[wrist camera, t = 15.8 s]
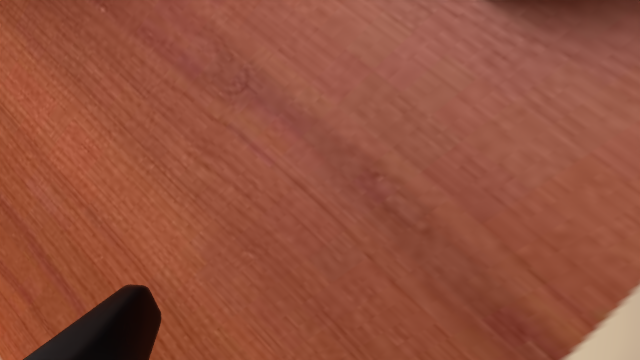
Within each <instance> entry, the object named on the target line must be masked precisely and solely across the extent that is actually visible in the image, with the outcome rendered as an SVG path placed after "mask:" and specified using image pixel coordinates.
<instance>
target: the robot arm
mask: <svg viewBox="0 0 640 360" xmlns="http://www.w3.org/2000/svg"><path fill="white" fill-rule="evenodd" d="M160 323H161V312H160V310H159V308H158V306H157V304H156V302H155V300H154V298H153V296H152V294H151V292H150V290H149V288H147V287H146V286H143V285H126V286H124V287H122V288H121V289H119V290H118V291H117V292H115V293H114V294H113V295H111V296H110V297H108V298H107V299H106V300H104V301H103V302H102V303H100V304H99V305H97V306H96V307H95V308H93V309H92V310H91V311H89V312H88V313H86V314H85V315H84V316H82V317H81V318H80V319H78V320H77V321H75V322H74V323H73V324H71V325H70V326H69V327H67V328H66V329H64V330H63V331H62V332H60V333H59V334H58V335H56V336H55V337H53V338H52V339H51V340H49V341H48V342H47V343H45V344H44V345H42V346H41V347H40V348H38V349H37V350H36V351H34V352H33V353H31V354H30V355H29V356H27V357H26V358H25V359H23V360H149V357H150V354H151V351H152V348H153V345H154V342H155V339H156V336H157V333H158V330H159V327H160Z"/></svg>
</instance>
